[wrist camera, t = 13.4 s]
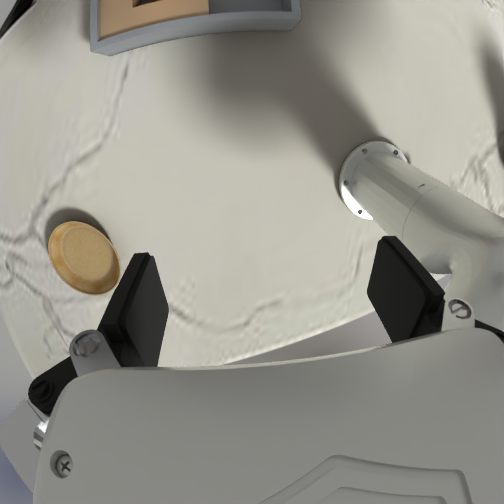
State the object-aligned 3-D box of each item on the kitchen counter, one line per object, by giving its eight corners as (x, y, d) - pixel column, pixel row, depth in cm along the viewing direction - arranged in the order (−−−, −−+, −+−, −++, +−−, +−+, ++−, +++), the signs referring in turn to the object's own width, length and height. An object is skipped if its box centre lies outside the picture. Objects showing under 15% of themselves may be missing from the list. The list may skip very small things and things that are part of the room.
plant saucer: (42, 241, 39) (35, 248, 37) (87, 197, 36) (80, 204, 34) (90, 296, 46) (86, 305, 44) (142, 266, 44) (138, 275, 41)
